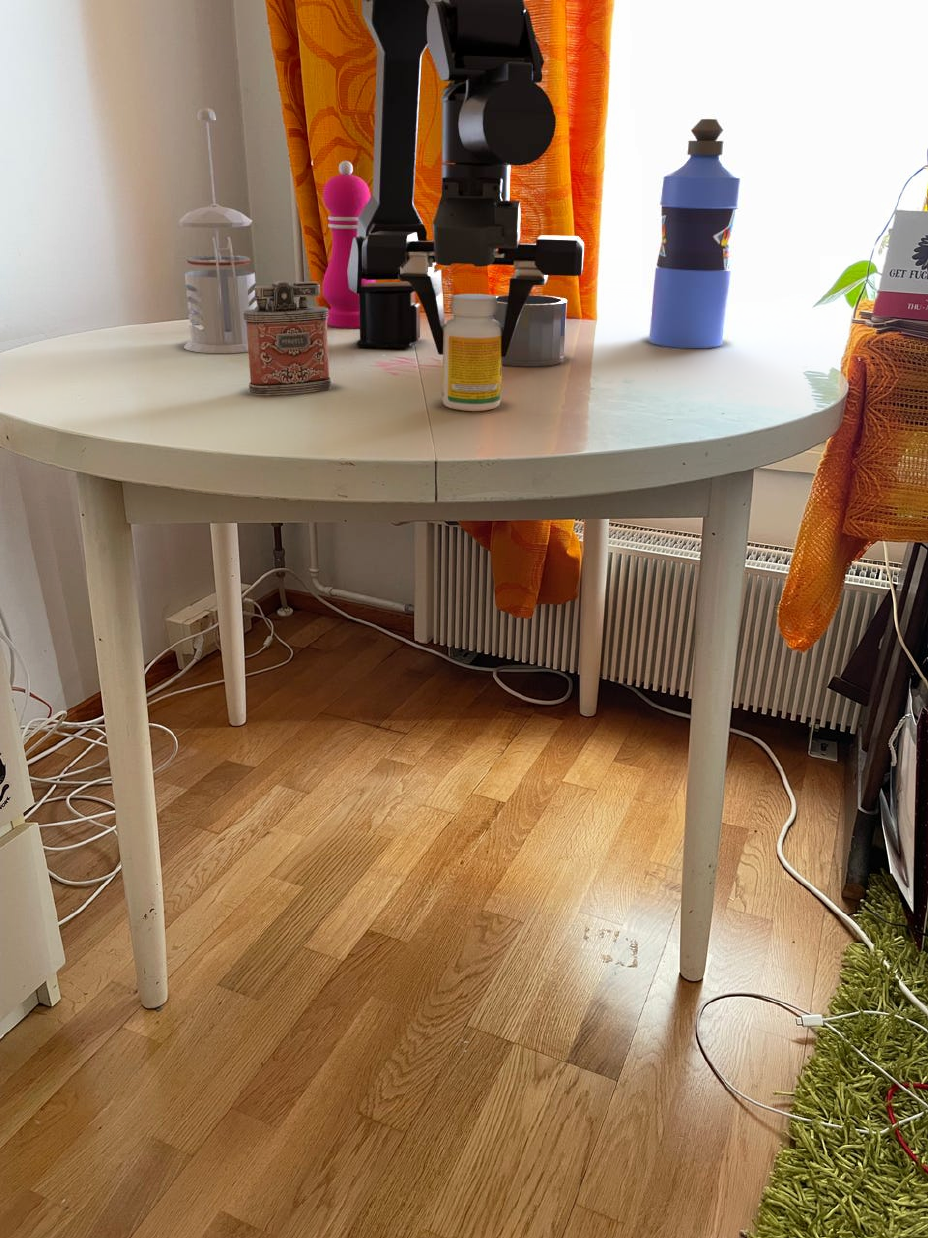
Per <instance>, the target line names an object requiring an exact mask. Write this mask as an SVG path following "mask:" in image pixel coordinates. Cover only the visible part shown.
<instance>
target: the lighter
mask: <svg viewBox="0 0 928 1238" xmlns="http://www.w3.org/2000/svg"><path fill="white" fill-rule="evenodd" d="M254 289H255V298H254V299H255V300H257V308H256V309H253V310H245V311H243V312H244V320H245V321H246V326H247V339H248V352H247V353H248V363H249V365H248V366H249V377H250V379H249V380H250V382H249V383H248V390H249V394H250V395H253V396H281V395H293V394H294V395H295V394H296V395H297V394H304V393H305V394H306V393H314V392H321V391H328V390H331V389H332V378H331V377H330V369H329V368H330V365H329V364H330V363H329V343H328V342H329V341H328V324H327V317H328V310H329V308H328V307H325V306H313V305H312V306H311V305H310V306H309V301H308V299H307V297H308V298H309V297H320V296H321V285H320V284H319V283H318V281H295V282H294V281H293V284H289V283H288V282H286V281H283V280H274V281H273V282H272V284H271V285H254ZM295 298H299V299H298V305H297V303H296V302H295ZM268 299H269V300H268Z"/></svg>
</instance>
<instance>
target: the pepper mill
mask: <svg viewBox="0 0 928 1238" xmlns="http://www.w3.org/2000/svg"><path fill="white" fill-rule="evenodd" d="M353 171H354V166H353V164H352V163H351V162H350V161H348V160H343V161H341V162H340V163H339V165H338V172H339V173H340V174H338V175H334V176H333V177H331V178H329V179H328V180H327V182H326V183H325V185H324V186H323V187H324V188H323V192H322V202H323V204H324V206H325V207H326V209H327V210H328V211H329V213H330V215H329V216H327V220H328V224H327V227H328V228H330V229H331V236H332V247H331V248H332V249H331V255H330V259H329V263H328V265H327V268H326V270H325V273H324V276H323V280H322V291H321V292H322V293H321V294H322V296H323V298H324V300H325V301H326V303H328V305H329V306H330V309H328V317H327V326H330V327H332V328H339V329H341V328H342V329H360V321H359V294H356V293H355V292H353V291H351V290H350V289H349V285H348V275H347V270H348V264H349V258H350V253H351V247H352V241H353V238H354V237H357V225H358V217H359V215H360V213H361V212H362V210H363V209H364V207H365V206H366V204H367V203H368V201H369V200H370V198H371V192H370V188H369V186H368V183H366V181H364V179H363V178H361V177H359V176H358V175H354V174H352V173H353ZM374 282H377V280H366V279H362V283H374Z"/></svg>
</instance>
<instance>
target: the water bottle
mask: <svg viewBox="0 0 928 1238" xmlns="http://www.w3.org/2000/svg"><path fill="white" fill-rule="evenodd" d="M725 131H726V130H725V128H724V127H723V126H722V124H721V123H720V122H719V120H718V119H717V118H701V119H700V120H699V121H697V123H696V124H695V125H694V126H693V127H692V128H691V129H690V132H691V134H692V135H693V137H694V138H695V140H688V141H687V148H686V155H687V156H689V157H688V159H687V160H686V161H685V162H684V163H683V164H682V165H681V166H678V167H677V168H674V169H673V170H671V171H669V172H668V173H665V174H663V175H662V178H661V191H660V201H659V205H660V206H661V207H660V209H661V210H660V211H661V213H660V215H661V243H660V248H659V252H658V256H657V261H656V266H655V271H654V281H653V291H652V300H651V301H652V303H651V311H650V312H651V313H650V325H649V334H648V342H649V343H651V344H654V345H657V346H662V347H668V348H681V349H709V348H711V349H712V348H717V347H721V346H722V345H723V341H724V340H723V339H724V330H725V323H726V314H727V306H728V299H729V298H728V297H729V290H730V281H731V272H732V269H731V267H732V266H731V242H732V239H733V238H732V237H733V234H734V230H735V225H736V220H737V216H738V211H739V208H740V207H741V204H742V203H741V201H742V194H743V186H744V176H742V175H740V174H739V173H737V172H736V171H735V170H733V169H731V168H729V167H728V166H726V165H725V162H724V161H723V159H722V158H721V156H724V155H725V149H726V148H725V147H726V141H725V140H718V139H719V138H720V137H721V136H722V135H723V134H724V133H725Z"/></svg>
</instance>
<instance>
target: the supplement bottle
mask: <svg viewBox="0 0 928 1238" xmlns="http://www.w3.org/2000/svg"><path fill="white" fill-rule="evenodd" d="M496 296H497V295H493V294H485V293H461V294H460V293H459V294H453V295H452V296H451V298H450V299H451V304H450V311H451V313H452V314H453V318H451V319H449V320H447V321H446V323H445V326H444V329H443V355H442V381H441V382H442V383H441V384H442V389H441V391H442V392H441V393H442V396H441V397H442V403H443V405H444V406H445V407H447V408H449V409H452V410H457V411H459V410H460V411H466V412H484V411H489V410H494V409H496V408H498V406H499V405H500V404H501V399H502V374H503V372H502V371H503V365H502V336H503V328H502V325H501V324H500V323H499V322H498V321H497V320H494V319H493V315H494V314H495V313H496V311H497V297H496Z"/></svg>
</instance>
